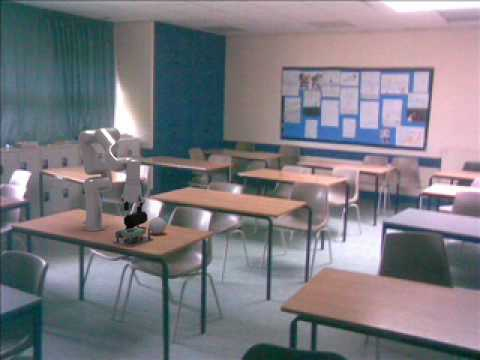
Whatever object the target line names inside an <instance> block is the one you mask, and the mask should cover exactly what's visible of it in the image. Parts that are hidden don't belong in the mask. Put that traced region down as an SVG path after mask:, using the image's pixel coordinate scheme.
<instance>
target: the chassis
mask: <svg viewBox="0 0 480 360" xmlns="http://www.w3.org/2000/svg"><path fill="white" fill-rule="evenodd" d="M135 227H137V225H136V226H135ZM119 231H120V230H116V232H117V237H116V240H114V241H113V244H115V245H118V246H123V247H127V248H132V247H136V246H137V247H138V246H139V245H143V244H145V243H149V242H152V241H154V238H152V237H151V231H150V228H149V227H148V229H147V236H144V234H142V235H139V236H136V237H132V233H130V238H128V237H123V238H119Z"/></svg>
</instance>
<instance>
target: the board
mask: <svg viewBox="0 0 480 360" xmlns="http://www.w3.org/2000/svg"><path fill="white" fill-rule="evenodd" d="M124 230H125V229H124ZM130 233H132V237H136V236H140V235H142V234H143V235H145V234H146V233H147V232H146V228H141V227H139V228H137V227H134V228H132V229H128V230H125V231H122V232H121V236H124V237H128V238H130ZM124 237H123V238H124Z"/></svg>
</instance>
